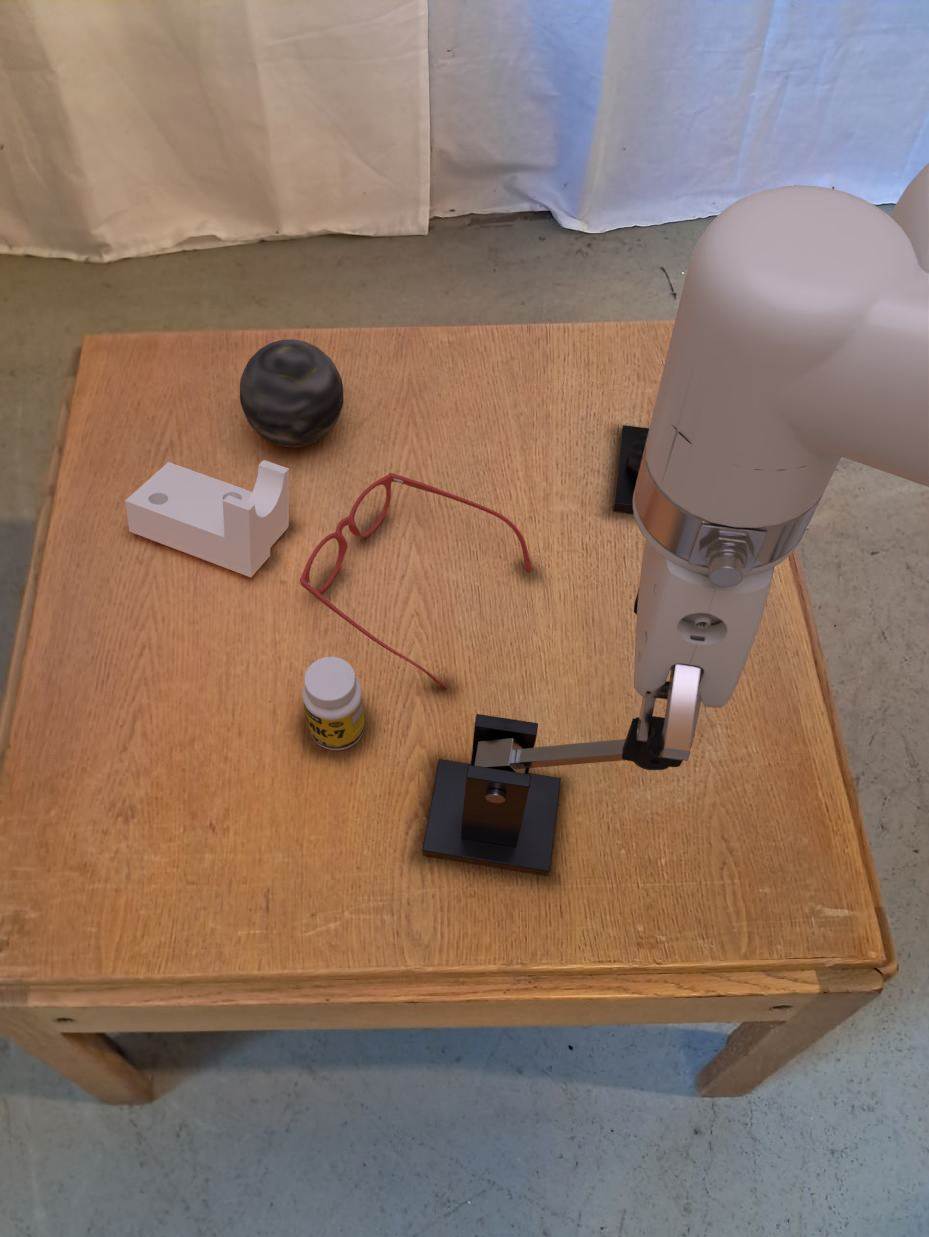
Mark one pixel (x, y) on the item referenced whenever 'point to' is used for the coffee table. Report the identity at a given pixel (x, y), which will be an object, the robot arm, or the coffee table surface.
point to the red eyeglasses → (354, 530)
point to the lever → (545, 754)
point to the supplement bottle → (333, 703)
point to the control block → (628, 466)
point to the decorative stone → (291, 393)
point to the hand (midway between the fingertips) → (655, 683)
